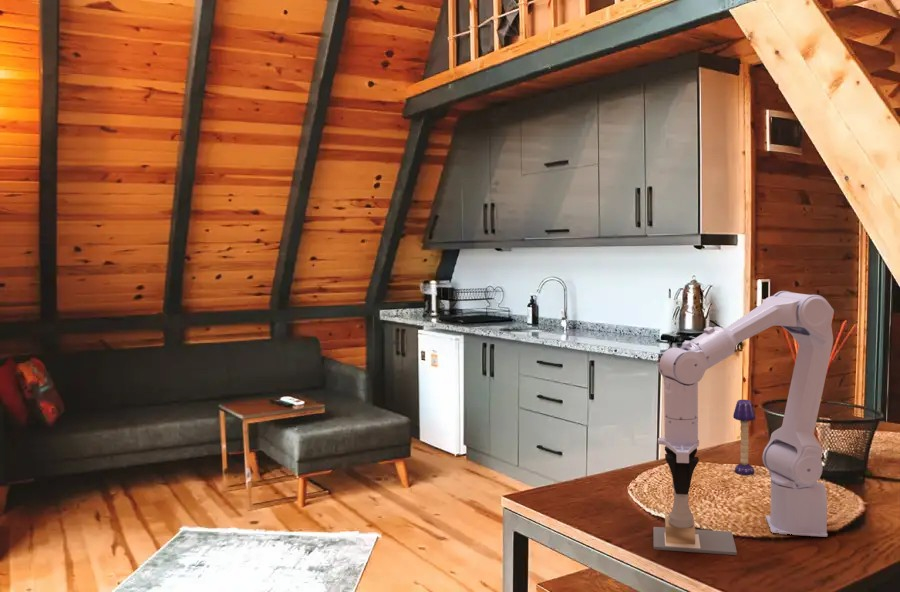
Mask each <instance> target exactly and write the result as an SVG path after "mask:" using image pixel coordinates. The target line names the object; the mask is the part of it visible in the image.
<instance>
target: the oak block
mask: <svg viewBox="0 0 900 592" xmlns="http://www.w3.org/2000/svg"><path fill="white" fill-rule="evenodd" d="M669 519H670V517H669V515H665V516H664V528H665V535H666V543H680V544H695V529H696V524H695V523H694V524H693V525H692V526H691V527H689V528H677V527H674V526H672V525H671V524H670V523H669ZM694 520H695V519H693V521H694ZM694 522H695V521H694Z"/></svg>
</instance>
